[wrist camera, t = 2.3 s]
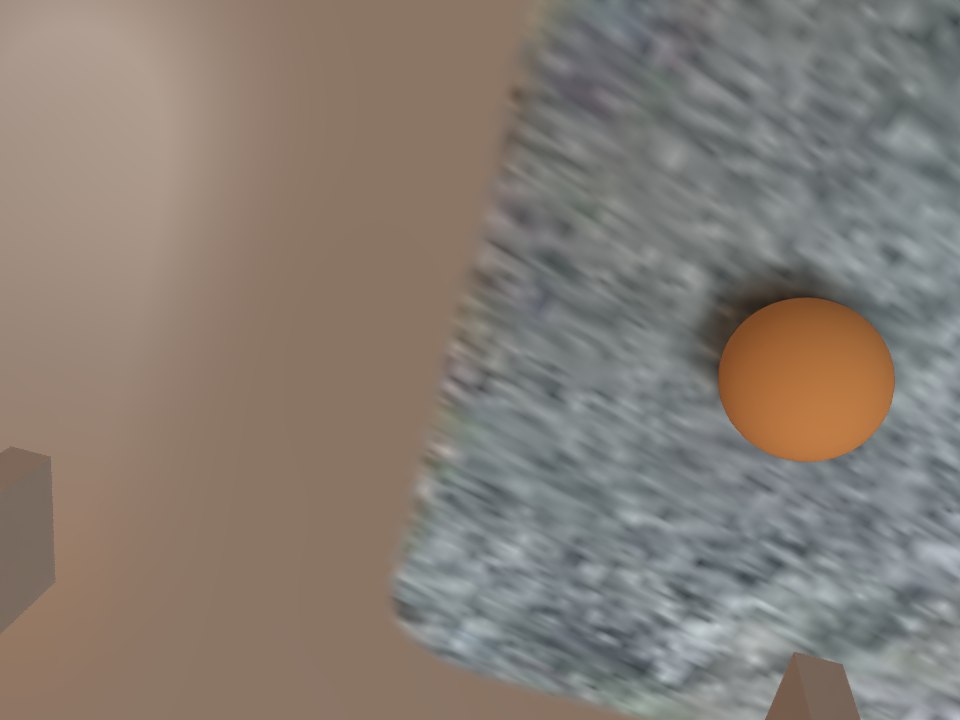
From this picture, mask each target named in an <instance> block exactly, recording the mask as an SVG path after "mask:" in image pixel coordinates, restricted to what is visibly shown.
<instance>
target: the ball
mask: <svg viewBox="0 0 960 720" xmlns="http://www.w3.org/2000/svg"><path fill="white" fill-rule="evenodd" d="M718 383H719V393H720V398H721V401H722V404H723V407H724V409H725V412H726V414H727V415H728V417H729V419H730V421H731V422H732V424H733V425H734V426H735V428H736V429H737V430H738V431H739V432H740V433H741V434H742V436H743V437H744V438H745V439H747V440H748V441H749V442H750V443H752V444H753V445H755V446H756V447H758V448H760V449H761V450H763V451H765V452H767V453H769V454H771V455H773V456H776V457H780V458H783V459H788V460H793V461H803V462H812V461H822V460H827V459H831V458H835V457H838V456H841V455H843V454H846V453H848V452H850V451H852V450H853V449H855V448H857V447H858V446H860V445H861V444H863V443H864V442H865V441H866V440H867V439H868V438H870V437H871V435H872V434H873V433H874V432H875V431H876V430H877V429H878V427H879V426H880V424H881V423H882V422H883V420H884V418H885V417H886V415H887V413H888V411H889V408H890V405H891V402H892V398H893V392H894V384H895V376H894V367H893V363H892V359H891V355H890V353H889V350H888V348H887V346H886V344H885V342H884V340H883V339H882V337H881V336H880V334H879V333H878V331H877V330H876V329H875V328H874V327H873V326H872V325H871V324H870V323H869V322H868V321H867V320H866V319H864V318H863V317H862V316H861V315H860V314H858V313H856V312H855V311H853V310H852V309H850V308H848V307H845V306H843V305H841V304H838V303H835V302H832V301H829V300H825V299H818V298H793V299H788V300H783V301H779V302H776V303H773V304H771V305H768V306H766V307H764V308H762V309H760V310H759V311H757V312H755V313H754V314H752V315H751V316H750V317H749V318H747V319H746V320H745V321H744V322H743V323H742V324H741V325H740V326H739V327H738V328H737V329H736V330H735V332H734V333H733V334H732V336H731V337H730V339H729V341H728V342H727V344H726V346H725V349H724V351H723V354H722V357H721V361H720V365H719V373H718Z"/></svg>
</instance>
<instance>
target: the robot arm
mask: <svg viewBox="0 0 960 720" xmlns="http://www.w3.org/2000/svg"><path fill="white" fill-rule="evenodd" d="M51 478H52V476H51V457H49V456H46V455H42V454H38V453H34V452H30V451H27V450H23V449H19V448H15V447H9V448H8V449H6V450H4V451H3V452H1V453H0V634H1V633H2V632H3V631H4V630H5V629H6V628H7V627H8V626H9V625H10V624H11V623H13V622H14V621H15V620H16V619H17V618H18V617H19V616H20V615H21V614H22V613H23V612H24V611H25V610H26V609H27V608H28V607H29V606H31V605H32V604H33V603H34V602H35V601H36V600H37V599H38V598H39V597H40V596H41V595H42V594H43V593H44V592H45V591H47V590H48V589H49V588H50V587H51V586H52V585H53V584H54V583H55V561H54V560H55V558H54V530H53V504H52V479H51ZM765 720H861V719H860V716H859V713H858V710H857V707H856V704H855V701H854V698H853V695H852V692H851V689H850V686H849V683H848V679H847V676H846V673H845V670H844V667H843V664H839V663H835V662H831V661H827V660H824V659H820V658H816V657H812V656H808V655H805V654H801V653H797V652H794V654H793V656H792V658H791V661H790V663H789V665H788V667H787V670H786V672H785V674H784V677H783V679H782V681H781V684H780V686H779V688H778V691H777V693H776V695H775V698H774V700H773V702H772V705H771V707H770V709H769V712H768V714H767V716H766V719H765Z"/></svg>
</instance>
